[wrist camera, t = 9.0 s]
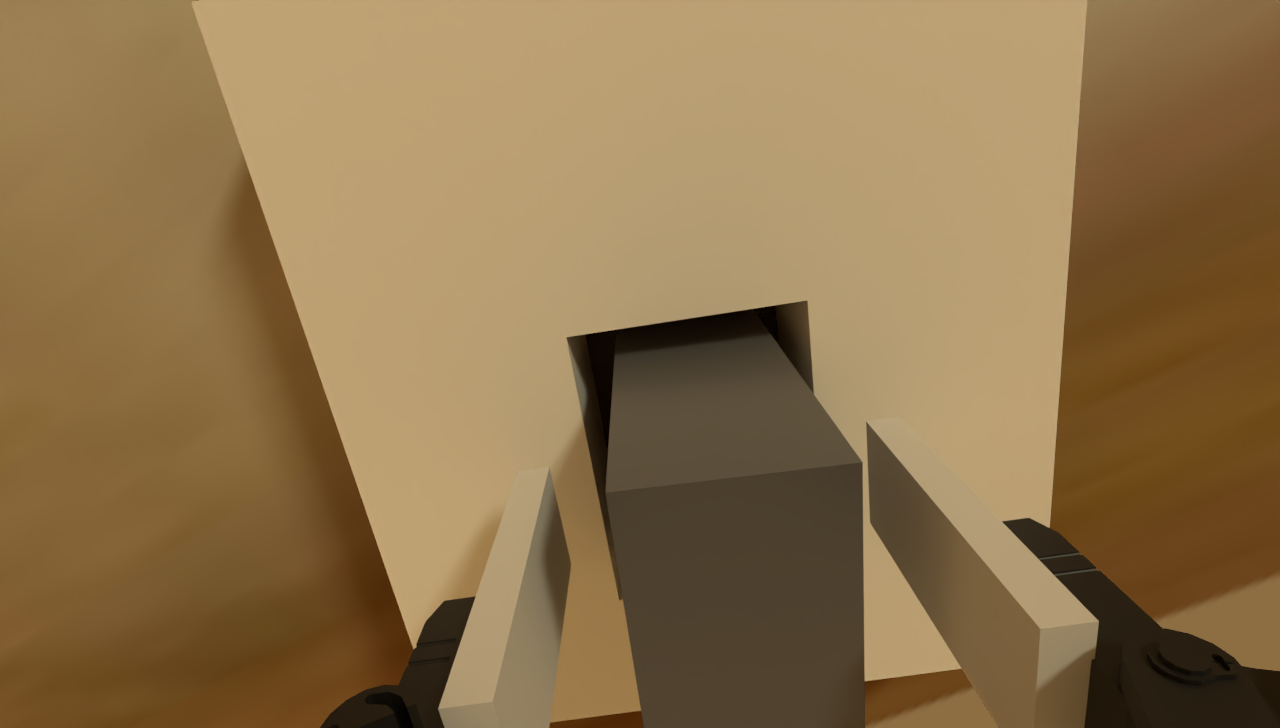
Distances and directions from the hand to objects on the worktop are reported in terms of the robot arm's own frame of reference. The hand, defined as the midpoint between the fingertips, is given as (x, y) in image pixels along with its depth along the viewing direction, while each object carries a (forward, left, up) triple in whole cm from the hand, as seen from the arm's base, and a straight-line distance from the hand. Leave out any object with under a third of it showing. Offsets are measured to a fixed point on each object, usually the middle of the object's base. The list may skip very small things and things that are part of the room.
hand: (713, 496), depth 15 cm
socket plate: (0, -2, -6) cm, 6 cm away
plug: (0, 0, -6) cm, 6 cm away
